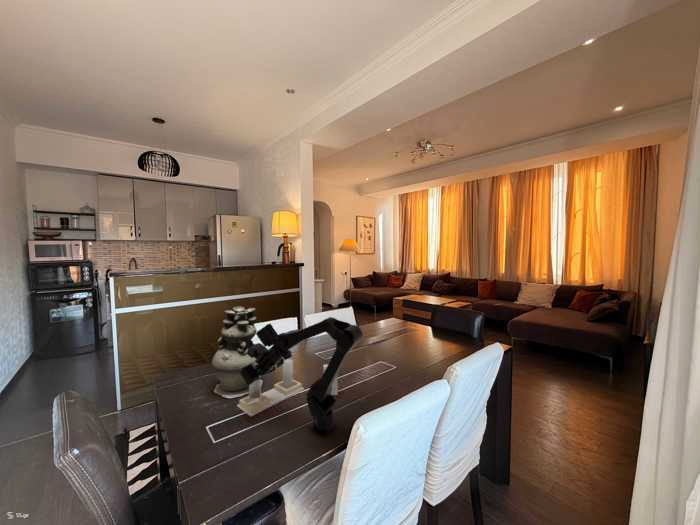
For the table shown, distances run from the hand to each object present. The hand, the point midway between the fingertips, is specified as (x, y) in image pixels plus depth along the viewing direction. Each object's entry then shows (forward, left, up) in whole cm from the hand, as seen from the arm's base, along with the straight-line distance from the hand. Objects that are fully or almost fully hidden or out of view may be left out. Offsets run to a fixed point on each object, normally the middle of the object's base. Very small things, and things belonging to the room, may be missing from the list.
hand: (252, 378), depth 110 cm
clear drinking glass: (-1, 0, -7) cm, 7 cm away
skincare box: (-17, -26, -11) cm, 33 cm away
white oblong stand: (-1, -8, -11) cm, 14 cm away
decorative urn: (+19, -4, -11) cm, 22 cm away
